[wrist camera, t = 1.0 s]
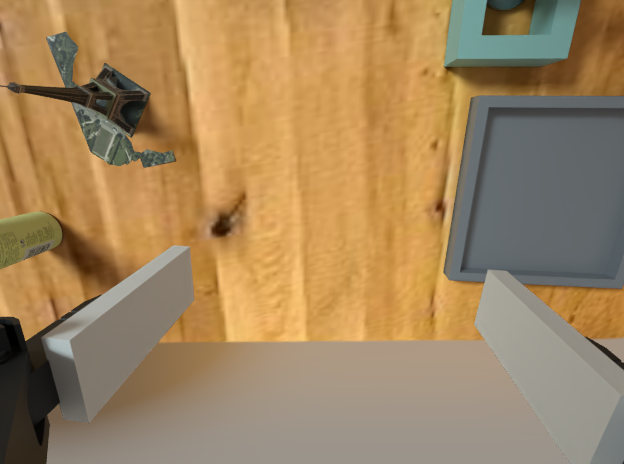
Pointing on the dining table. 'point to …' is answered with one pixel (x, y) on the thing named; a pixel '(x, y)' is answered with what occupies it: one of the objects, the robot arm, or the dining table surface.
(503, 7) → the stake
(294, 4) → the dining table surface
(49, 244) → the tube
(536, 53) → the ring frame
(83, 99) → the eiffel tower figurine
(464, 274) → the tray
